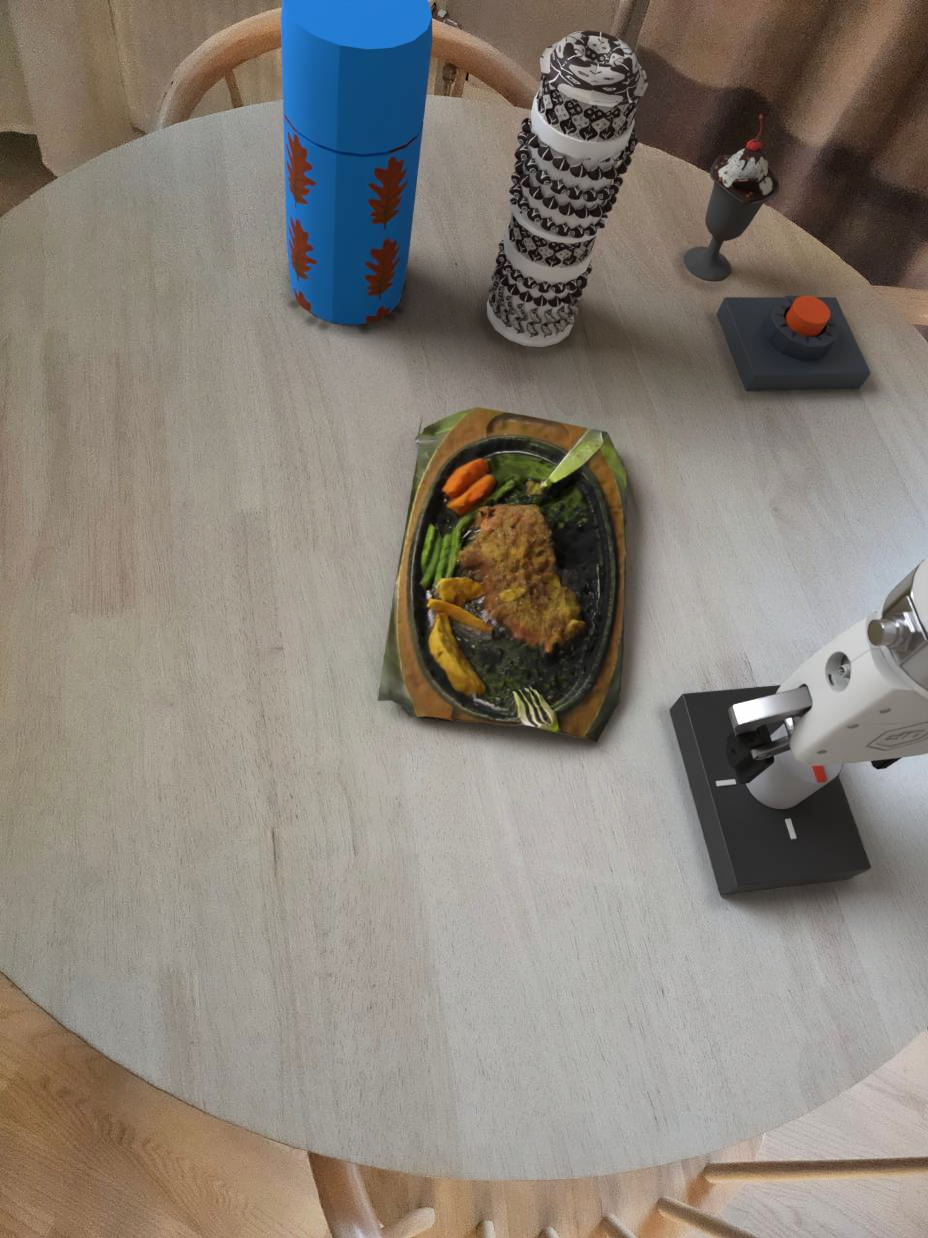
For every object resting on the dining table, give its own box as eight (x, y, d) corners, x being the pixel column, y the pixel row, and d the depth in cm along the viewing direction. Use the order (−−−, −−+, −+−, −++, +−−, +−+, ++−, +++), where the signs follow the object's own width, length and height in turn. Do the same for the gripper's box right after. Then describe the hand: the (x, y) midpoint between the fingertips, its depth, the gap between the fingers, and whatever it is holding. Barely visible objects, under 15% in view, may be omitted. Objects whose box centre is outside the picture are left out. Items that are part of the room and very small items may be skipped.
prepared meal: (634, 729, 66) (379, 691, 64) (619, 749, 69) (375, 713, 67) (630, 431, 81) (422, 393, 79) (618, 458, 84) (417, 422, 82)
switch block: (825, 313, 96) (845, 282, 92) (859, 389, 91) (881, 359, 88) (715, 314, 94) (731, 282, 90) (745, 391, 89) (762, 360, 85)
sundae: (704, 233, 99) (763, 96, 86) (750, 272, 97) (818, 138, 84) (661, 255, 97) (716, 117, 84) (708, 296, 95) (771, 161, 82)
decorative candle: (573, 359, 88) (659, 102, 66) (475, 337, 87) (530, 71, 66) (582, 292, 92) (666, 31, 71) (489, 271, 92) (545, 2, 70)
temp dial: (735, 750, 67) (769, 718, 62) (793, 744, 68) (832, 712, 63) (753, 812, 65) (791, 785, 60) (814, 805, 66) (856, 778, 61)
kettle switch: (814, 309, 90) (823, 295, 89) (827, 337, 89) (836, 323, 87) (780, 309, 90) (788, 295, 88) (792, 337, 88) (800, 323, 87)
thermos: (332, 342, 84) (339, 66, 63) (264, 269, 88) (249, -18, 66) (427, 298, 89) (465, 25, 67) (359, 229, 92) (374, -52, 70)
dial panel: (668, 709, 72) (683, 692, 69) (789, 698, 74) (807, 681, 71) (719, 896, 65) (737, 886, 62) (850, 879, 67) (873, 868, 64)
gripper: (832, 713, 44) (697, 824, 59) (1141, 685, 47) (941, 796, 62) (782, 576, 47) (667, 713, 62) (1073, 559, 51) (899, 692, 66)
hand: (804, 754), depth 62 cm, fingers open, 9 cm apart
